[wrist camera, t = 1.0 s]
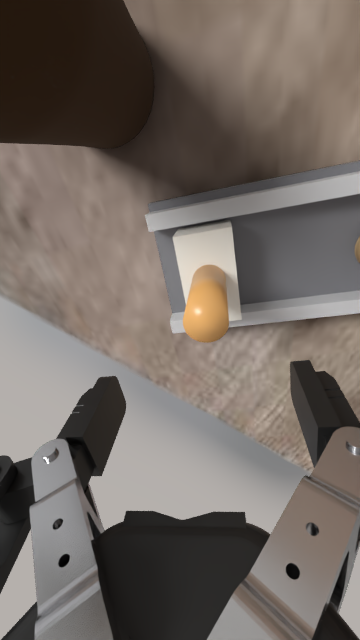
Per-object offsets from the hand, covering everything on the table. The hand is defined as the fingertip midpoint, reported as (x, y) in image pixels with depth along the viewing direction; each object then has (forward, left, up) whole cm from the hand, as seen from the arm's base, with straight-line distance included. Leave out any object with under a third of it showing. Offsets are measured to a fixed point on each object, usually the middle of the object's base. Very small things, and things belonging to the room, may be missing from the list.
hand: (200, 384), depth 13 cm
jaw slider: (0, 0, -18) cm, 18 cm away
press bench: (-8, 0, -20) cm, 21 cm away
